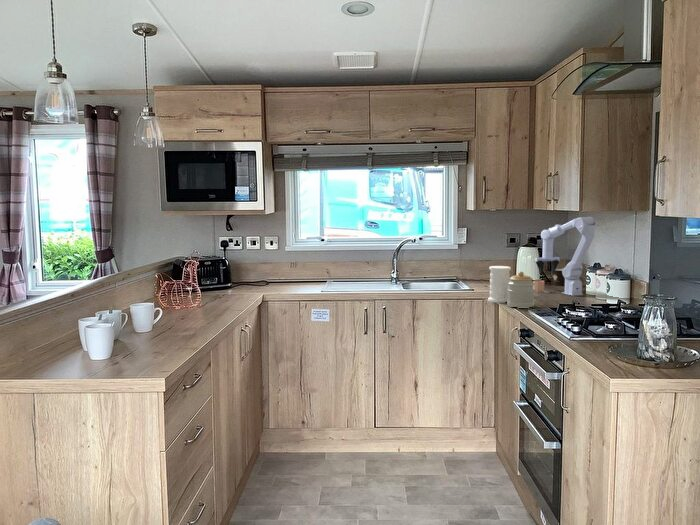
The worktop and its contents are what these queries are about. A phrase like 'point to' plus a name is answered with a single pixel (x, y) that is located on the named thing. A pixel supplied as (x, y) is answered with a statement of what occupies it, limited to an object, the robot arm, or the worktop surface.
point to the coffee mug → (558, 277)
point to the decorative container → (499, 283)
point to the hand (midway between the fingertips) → (547, 273)
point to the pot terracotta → (538, 286)
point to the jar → (520, 291)
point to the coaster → (542, 292)
